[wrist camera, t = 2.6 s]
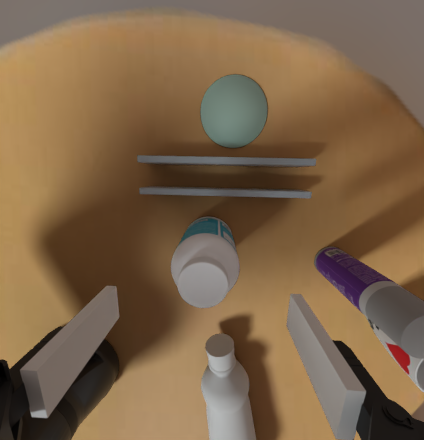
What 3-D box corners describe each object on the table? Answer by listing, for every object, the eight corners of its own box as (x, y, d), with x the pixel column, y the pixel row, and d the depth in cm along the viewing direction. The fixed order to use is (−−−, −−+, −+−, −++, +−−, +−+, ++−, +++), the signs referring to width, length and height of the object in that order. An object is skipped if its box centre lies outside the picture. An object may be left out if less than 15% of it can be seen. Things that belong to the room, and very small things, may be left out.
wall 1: (148, 163, 28) (137, 162, 25) (148, 158, 28) (137, 155, 24) (301, 167, 28) (315, 165, 24) (302, 161, 28) (316, 158, 24)
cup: (373, 283, 31) (443, 332, 22) (417, 301, 32) (505, 356, 22) (347, 323, 33) (400, 385, 23) (389, 339, 34) (459, 406, 24)
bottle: (271, 471, 37) (258, 335, 32) (251, 544, 30) (229, 384, 24) (230, 439, 43) (213, 317, 37) (205, 494, 35) (178, 354, 30)
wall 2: (150, 191, 29) (139, 194, 25) (149, 186, 29) (139, 187, 25) (298, 195, 29) (311, 198, 25) (299, 189, 28) (311, 191, 25)
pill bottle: (178, 250, 31) (150, 304, 18) (195, 208, 30) (176, 233, 16) (222, 266, 32) (224, 332, 18) (240, 226, 30) (257, 265, 17)
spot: (200, 147, 28) (200, 147, 27) (200, 74, 26) (200, 74, 25) (264, 148, 27) (264, 148, 27) (269, 75, 25) (270, 74, 25)
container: (308, 265, 31) (387, 345, 16) (325, 241, 30) (427, 303, 15) (332, 278, 31) (430, 368, 17) (350, 255, 30) (472, 328, 16)
